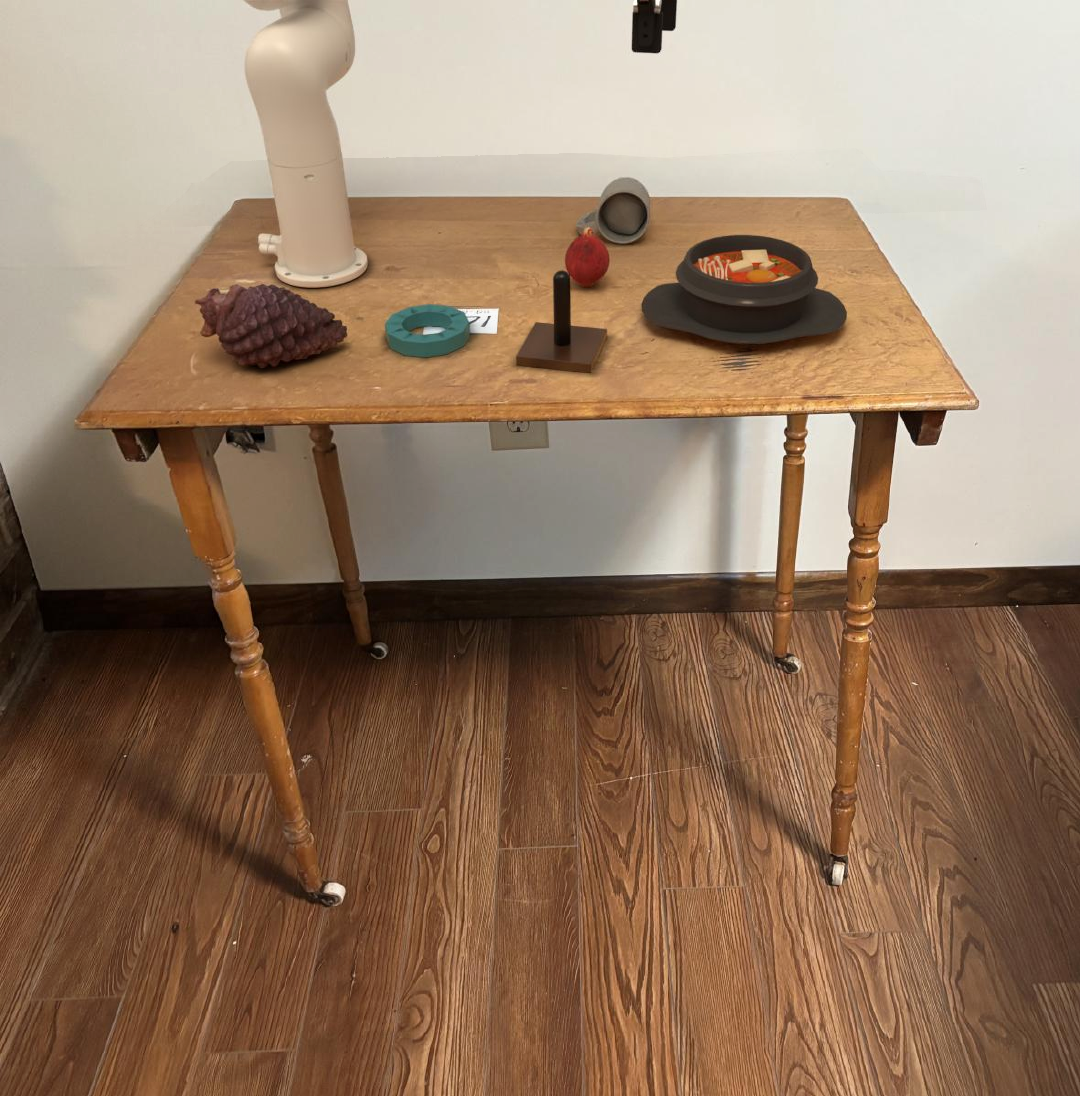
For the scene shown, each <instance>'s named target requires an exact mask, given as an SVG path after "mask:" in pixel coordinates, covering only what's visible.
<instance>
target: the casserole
mask: <svg viewBox="0 0 1080 1096" xmlns="http://www.w3.org/2000/svg"><path fill="white" fill-rule="evenodd" d="M675 277H676V280H677V282H670V283H663V284H658V285H656V286H655V287H654V288H652V289H650V290H649V291H648V292H647V293H646V294H645V296H644V297H643V299H642V301H641V312H642V313H643V315H644V317H645V318H646V319H647V320H648V321H649V323H651V324H653V325H655V326H657V327H660V328H665V329H669V330H670V329H671V330H674V331H675V330H676V331H681V332H686V333H688V334H689V333H690V334H693V335H695V336H699V337H703V338H705V339H708V340H709V339H710V340H713V341H716V342H722V343H726V344H727V343H728V344H739V345H763V344H771V343H778V342H782V341H788V340H792V339H796V338H800V337H801V338H802V337H814V336H816V337H817V336H823V335H828V334H831V333H834V332H837V331H839V330H840V329H841V328H842V327H843V326H844V325H845V324H846V321H847V318H848V311H847V309H846V305H844V303H843V302H842V301H841V300H840V299H839V298H838V297H837V296H836V295H835V294H833V293H832V292H830V291H827V290H824V289H820V288H816V287H817V285H818V283H819V277H818V273H817V271H816V270H815V269H814V267H813V262H812V259H811V257H810V255H809V254H808V253H807V251H805V250H804V249H802V248H800V246H797V245H796V244H793V243H792V242H789V241H785V240H783V239H779V238H776V237H771V236H763V235H757V234H756V235H754V234H731V235H722V236H721V235H720V236H715V237H711V238H707V239H704V240H702V241H700V242H697V243H696V244H694V245H692V246H691V247H690V248H689V249H688V250H687V251H686V253H685V256H684V258H683V260H682V261H680V263H679V264H678V265H677V267H676V270H675Z"/></svg>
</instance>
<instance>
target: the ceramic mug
mask: <svg viewBox="0 0 1080 1096" xmlns="http://www.w3.org/2000/svg"><path fill="white" fill-rule="evenodd" d="M650 221H651V197H650V194H649V191H648V189H647V188H646V186H645V185H644V184H643V183H642V182H640V181H639V180H638V179H636V178H634V177H629V176H624V177H618V178H615V179H614V180H612V181H611V182H609V183H608V184H607V185H606V186H605V188H604V189H603V191H602V193H601V195H600V197H599V201H598V205H597V207H596V208H595V209H593V210H591V211H589V212H587V213H585V214H584V215H582V216H581V217H580V218H579V219H578V220H577V221H576V223H575V228H576V229H577V231H578V233H579V235H580V236H581V235H582V233H583V231H584V229H585V228H588V227H589V228H591V229H592V230H593V232H592V233H593V234H595V233H600V235H602V236H603V238H605V239H606V240H608V241H609V242H612V243H615V244H618V245H626V244H631V243H634V242H636V241H638V240H639V239H641V237H643V235H644V234H645V233H646V232H647V230H648V228H649V226H650Z"/></svg>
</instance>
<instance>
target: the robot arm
mask: <svg viewBox="0 0 1080 1096" xmlns="http://www.w3.org/2000/svg"><path fill="white" fill-rule="evenodd" d="M243 1H244V2H245V3H246V4H247V5H249V6H250V7H251V8H253V9H256V10H259V11H266V12H269V11H276V10H279V14H280V18H279V19H276V20H275V21H273V22H272V23H270V24H268V25H266V26H265V27H262V29H260V30H259V31H258V32H257V33H256V35H255V36H254V37H253V38H252V39H251V41H250V42H249V45H248V46H247V49H246V51H245V56H244V65H243V66H244V75H245V80H246V84H247V87H248V90H249V93H250V96H251V98H252V101H253V104H254V107H255V110H256V113H257V117H258V120H259V124H260V128H261V134H262V138H263V139H262V140H263V144H264V149H265V154H266V155H265V156H266V161H267V166H268V170H269V176H270V182H271V187H272V192H273V198H274V204H275V211H276V215H277V220H278V228H279V233H280V234H279V235H278V234H277V235H276V234H272V233H259V234H258V240H257V243H258V251H259V253H260V254H262V255H264V254H265V255H274V256H275V257H277V260H276V261H275V264H274V270H275V271H274V272H275V275H276V277H277V278H278V279H279V280H280V281H281V282H283V283H285V284H287V285H291V286H294V287H299V288H313V289H315V288H327V287H328V288H329V287H333V286H338V285H342V284H345V283H348V282H351V281H353V280H355V279H357V278H358V277H361V275H363V274H364V273H365V272H366V271H367V269H368V267H369V266H368V265H369V262H368V255H367V253H366V252H364V250H362V249H361V248H358V247H356V246H355V242H354V235H353V234H354V233H353V227H352V221H351V212H350V205H349V197H348V190H347V181H346V175H345V167H344V159H343V153H342V146H341V139H340V133H339V128H338V125H337V122H336V118H335V116H334V113H333V111H332V109H331V106H330V103H329V100H328V96H327V91H328V90H329V89H330V88H331V87H333V86H334V85H336V84H337V83H338V82H339V81H341V80H342V79H343V78H344V77H345V76H346V75H347V74H348V72H349V71H350V70H351V68H352V67H353V64H354V60H355V55H356V37H355V31H354V24H353V20H352V15H351V10H350V5H349V0H243ZM677 7H678V0H633V8H632V10H633V11H632V13H631V14H632V19H631V22H632V23H631V51H632V53H637V54H659V53H661V51H662V48H663V47H662V46H663V32H673V31H675V29H676V28H677V10H678V9H677Z"/></svg>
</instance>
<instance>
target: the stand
mask: <svg viewBox="0 0 1080 1096" xmlns="http://www.w3.org/2000/svg"><path fill="white" fill-rule="evenodd" d="M571 282H572V281H571V277H570V275H569V274H568V272H567V270H558V271H556V272H555V273H554V274H553V276H552V293H553V294H552V296H553V297H552V298H553V299H552V300H553V305H552V307H553V323H549V322H540V321H535V322H534V324H533V326H532V327H531V329H530V331H529V333H528V335H527V336H526V338H525V340H524V342H523V344H522V345H521V347H520V349H519V350H518V352H517V354H516V356H515V360H516V366H518V367H519V366H521V367H528V368H529V367H531V368H539V369H548V370H559V371H566V372H577V373H585V374H586V373H587V374H592V372H593V370H594V367H595V365H596V363H597V361H598V359H599V356H600V354H601V352H602V349H603V348H604V345H605V343H606V340H607V338H608V329H607V328H600V327H590V326H580V325H579V326H578V325H572V314H571V313H572V312H571V309H572V307H571V306H572V304H571V303H572V302H571V301H572V300H571V299H572V298H571V290H572V289H571V287H572V286H571Z"/></svg>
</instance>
